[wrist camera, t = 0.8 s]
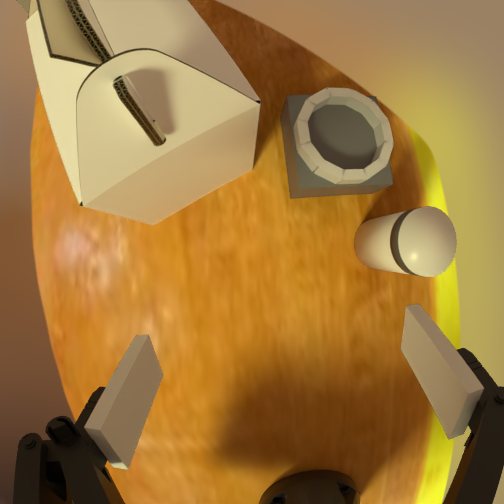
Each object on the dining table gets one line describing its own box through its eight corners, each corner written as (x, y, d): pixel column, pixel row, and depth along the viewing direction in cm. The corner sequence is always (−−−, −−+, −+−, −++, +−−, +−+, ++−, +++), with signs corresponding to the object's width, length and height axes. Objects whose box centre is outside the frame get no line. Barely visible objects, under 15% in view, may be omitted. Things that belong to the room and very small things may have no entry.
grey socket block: (371, 193, 36) (402, 180, 28) (290, 198, 36) (303, 184, 28) (358, 116, 36) (382, 88, 28) (280, 117, 36) (289, 86, 28)
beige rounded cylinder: (400, 266, 36) (458, 272, 24) (356, 271, 36) (404, 281, 24) (396, 216, 36) (452, 205, 24) (351, 220, 36) (398, 207, 24)
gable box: (89, 89, 35) (-29, -37, 7) (174, 40, 35) (121, -126, 7) (153, 228, 35) (-41, 182, 7) (254, 171, 36) (284, -17, 8)
